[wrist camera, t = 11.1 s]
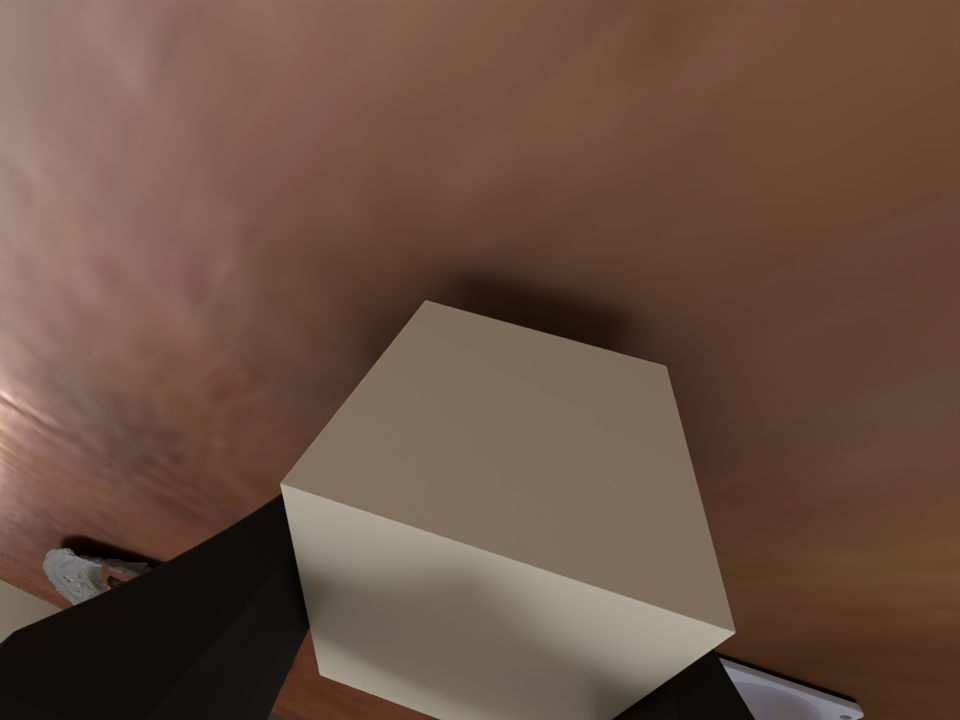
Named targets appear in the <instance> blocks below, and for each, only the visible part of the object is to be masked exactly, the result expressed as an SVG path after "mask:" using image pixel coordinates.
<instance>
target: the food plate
mask: <svg viewBox="0 0 960 720" xmlns="http://www.w3.org/2000/svg"><path fill="white" fill-rule="evenodd" d="M147 564H148V563H139V562H125V561H122V560H120V559H111V558H109V559H103V558H102V557H92V558H91V557H89V556H86V555H81V556H76V555H75V554H74V553H73V551H71V550H70V549H67V548H65V549H58V548H57V549H52V550H50V551H49V552H48V553H47V555H46V558H45V561H44V563H43V568H44V570H45V574H46V575H47V576H48V577H49V578H48V579H49V582H52V583H53V584H54V586H56V590H57V591H58V592H59V593H60V594H62V596H64V597H65V598H67V600H70V601H71V602H73V604H72V605H76V604H79V603H81V602H83V601H86V600H88V599H90V598H93V597H95V596H97V595H99V594H101V593H104V592H106V591H108V590H110V589H112V588H114V587H116V586H118V585H121V584H123V583H125V582H124V581H121V580H118V579H116V578H113V577H112V576H109V577H108V578H107V581H106V583H104V582H102V579H101V576H100V574H99V573H101V572H100V571H99V570H102V569H101V568H102V567H106V566H107V568H108V569H110V570H112V571H113V570H114V571H115V572H116V571H117V572H120V573H124V574H126V575H128V576H131V577H132V576H133V577H134V578H135V577H137V576H139V575H141V574H143V573H145V572H147V571H149V570H151V569H152V568H150V567H149V566H148V565H147ZM49 582H48V583H49ZM52 587H53V586H52Z"/></svg>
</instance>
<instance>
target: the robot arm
mask: <svg viewBox="0 0 960 720" xmlns="http://www.w3.org/2000/svg"><path fill="white" fill-rule="evenodd" d="M309 627H310V624H309V619H308V614H307V610H306V605H305V600H304V595H303V590H302V586H301V581H300V576H299V571H298V566H297V561H296V557H295V552H294V547H293V542H292V537H291V533H290V528H289V523H288V518H287V513H286V508H285V504H284V499H283V494H282V493H281V494H280V495H278V496H277V497H275V498H274V499H273V500H271V501H270V502H268V503H267V504H265V505H264V506H262V507H261V508H259V509H258V510H256V511H254V512H253V513H251V514H250V515H248V516H247V517H245V518H243V519H242V520H240V521H238V522H237V523H235V524H233V525H232V526H230V527H229V528H227V529H225V530H224V531H222V532H220V533H218V534H217V535H215V536H213V537H211V538H209V539H208V540H206V541H204V542H202V543H201V544H199V545H197V546H195V547H194V548H192V549H190V550H188V551H186V552H184V553H182V554H181V555H179V556H177V557H175V558H173V559H171V560H169V561H167V562H165V563H163V564H161V565H159V566H157V567H155V568H153V569H151V570H149V571H147V572H145V573H143V574H141V575H139V576H137V577H135V578H133V579H131V580H129V581H127V582H125V583H123V584H121V585H118V586H116V587H114V588H112V589H110V590H108V591H106V592H104V593H101V594H99V595H97V596H95V597H93V598H90V599H88V600H86V601H83V602H81V603H79V604H76V605H74V606H72V607H70V608H67V609H65V610H63V611H60V612H58V613H56V614H53V615H51V616H49V617H47V618H44V619H42V620H40V621H38V622H35V623H33V624H31V625H28V626H26V627H23V628H21V629H19V630H17V631H15V632H13V633H12V634H11V635H10V636H9V637H7V638H6V639H5V640H4V641H3V642H2V643H0V720H267V719H268V716H269V714H270V712H271V710H272V707H273V705H274V703H275V701H276V698H277V696H278V694H279V692H280V689H281V687H282V685H283V683H284V681H285V679H286V676H287V674H288V672H289V670H290V668H291V666H292V663H293V661H294V659H295V657H296V655H297V653H298V651H299V648H300V646H301V644H302V642H303V640H304V638H305V636H306V634H307V631H308V629H309ZM863 716H864V714H863V711H862V709H861V707H860V706H859V705H858V704H856V703H853V702H850V701H848V700H845V699H842V698H839V697H836V696H833V695H830V694H827V693H824V692H821V691H818V690H815V689H812V688H809V687H806V686H803V685H800V684H797V683H794V682H791V681H788V680H785V679H782V678H779V677H776V676H773V675H770V674H767V673H764V672H761V671H758V670H755V669H752V668H749V667H746V666H743V665H740V664H737V663H734V662H731V661H728V660H725V659H722V658H719V657H718V655H717V654H716V652H715V650H714V648H713V649H712V650H710V651H709V652H707V653H706V654H705V655H703V656H702V657H700V658H699V659H697V660H696V661H695V662H693V663H692V664H690V665H689V666H688V667H686V668H685V669H683V670H682V671H680V672H679V673H678V674H676V675H675V676H673V677H672V678H670V679H669V680H668V681H666V682H665V683H663V684H662V685H660V686H659V687H658V688H656V689H655V690H653V691H652V692H650V693H649V694H648V695H646V696H645V697H643V698H642V699H640V700H639V701H638V702H636V703H635V704H633V705H632V706H630V707H629V708H628V709H626V710H625V711H623V712H622V713H620V714H619V715H618V716H616V717H615V718H613V719H612V720H857V719H860V718H862V717H863Z"/></svg>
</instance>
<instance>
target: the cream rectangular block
mask: <svg viewBox="0 0 960 720" xmlns="http://www.w3.org/2000/svg"><path fill="white" fill-rule="evenodd" d="M280 484H281V489H282V494H283V499H284V504H285V508H286V513H287V518H288V523H289V528H290V533H291V537H292V542H293V547H294V552H295V557H296V561H297V566H298V571H299V576H300V581H301V586H302V590H303V595H304V600H305V605H306V610H307V614H308V619H309V624H310V629H311V634H312V638H313V643H314V648H315V653H316V658H317V663H318V667H319V672H320V675H322V676H324V677H327V678H330V679H332V680H335V681H338V682H341V683H343V684H346V685H349V686H351V687H354V688H357V689H359V690H362V691H365V692H368V693H370V694H373V695H376V696H378V697H381V698H384V699H386V700H389V701H392V702H395V703H397V704H400V705H403V706H405V707H408V708H411V709H413V710H416V711H419V712H422V713H424V714H427V715H430V716H432V717H435V718H438V719H441V720H612V719H613V718H615V717H616V716H618V715H619V714H620V713H622V712H623V711H625V710H626V709H628V708H629V707H630V706H632V705H633V704H635V703H636V702H638V701H639V700H640V699H642V698H643V697H645V696H646V695H648V694H649V693H650V692H652V691H653V690H655V689H656V688H658V687H659V686H660V685H662V684H663V683H665V682H666V681H668V680H669V679H670V678H672V677H673V676H675V675H676V674H678V673H679V672H680V671H682V670H683V669H685V668H686V667H688V666H689V665H690V664H692V663H693V662H695V661H696V660H697V659H699V658H700V657H702V656H703V655H705V654H706V653H707V652H709V651H710V650H712V649H713V648H715V647H716V646H717V645H719V644H720V643H722V642H723V641H725V640H726V639H727V638H729V637H730V636H732V635H733V634H735V633H736V631H735V628H734V624H733V620H732V616H731V612H730V608H729V605H728V601H727V597H726V593H725V589H724V585H723V582H722V578H721V574H720V570H719V566H718V562H717V559H716V555H715V551H714V547H713V543H712V539H711V536H710V532H709V528H708V524H707V520H706V516H705V513H704V509H703V505H702V501H701V497H700V493H699V490H698V486H697V482H696V478H695V474H694V470H693V466H692V463H691V459H690V455H689V451H688V447H687V443H686V440H685V436H684V432H683V428H682V424H681V420H680V417H679V413H678V409H677V405H676V401H675V397H674V394H673V390H672V386H671V382H670V378H669V374H668V371H667V367H666V366H664V365H661V364H657V363H653V362H650V361H646V360H642V359H639V358H635V357H631V356H628V355H624V354H620V353H617V352H613V351H610V350H606V349H602V348H599V347H595V346H591V345H588V344H584V343H580V342H577V341H573V340H569V339H566V338H562V337H558V336H555V335H551V334H547V333H544V332H540V331H536V330H533V329H529V328H525V327H522V326H518V325H514V324H511V323H507V322H504V321H500V320H496V319H493V318H489V317H485V316H482V315H478V314H474V313H471V312H467V311H463V310H460V309H456V308H452V307H449V306H445V305H441V304H438V303H434V302H430V301H427V300H425V301H424V303H423V304H422V305H421V306H420V308H419V309H418V310H417V311H416V313H415V314H414V315H413V317H412V318H411V319H410V320H409V322H408V323H407V324H406V325H405V327H404V328H403V329H402V330H401V332H400V333H399V334H398V335H397V337H396V338H395V339H394V341H393V342H392V343H391V344H390V346H389V347H388V348H387V349H386V351H385V352H384V353H383V354H382V356H381V357H380V358H379V359H378V361H377V362H376V363H375V365H374V366H373V367H372V368H371V370H370V371H369V372H368V373H367V375H366V376H365V377H364V378H363V380H362V381H361V382H360V383H359V385H358V386H357V387H356V389H355V390H354V391H353V392H352V394H351V395H350V396H349V397H348V399H347V400H346V401H345V402H344V404H343V405H342V406H341V407H340V409H339V410H338V411H337V413H336V414H335V415H334V416H333V418H332V419H331V420H330V421H329V423H328V424H327V425H326V426H325V428H324V429H323V430H322V431H321V433H320V434H319V435H318V437H317V438H316V439H315V440H314V442H313V443H312V444H311V445H310V447H309V448H308V449H307V450H306V452H305V453H304V454H303V455H302V457H301V458H300V459H299V461H298V462H297V463H296V464H295V466H294V467H293V468H292V469H291V471H290V472H289V473H288V474H287V476H286V477H285V478H284V479H283V481H282V482H281V483H280Z"/></svg>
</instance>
